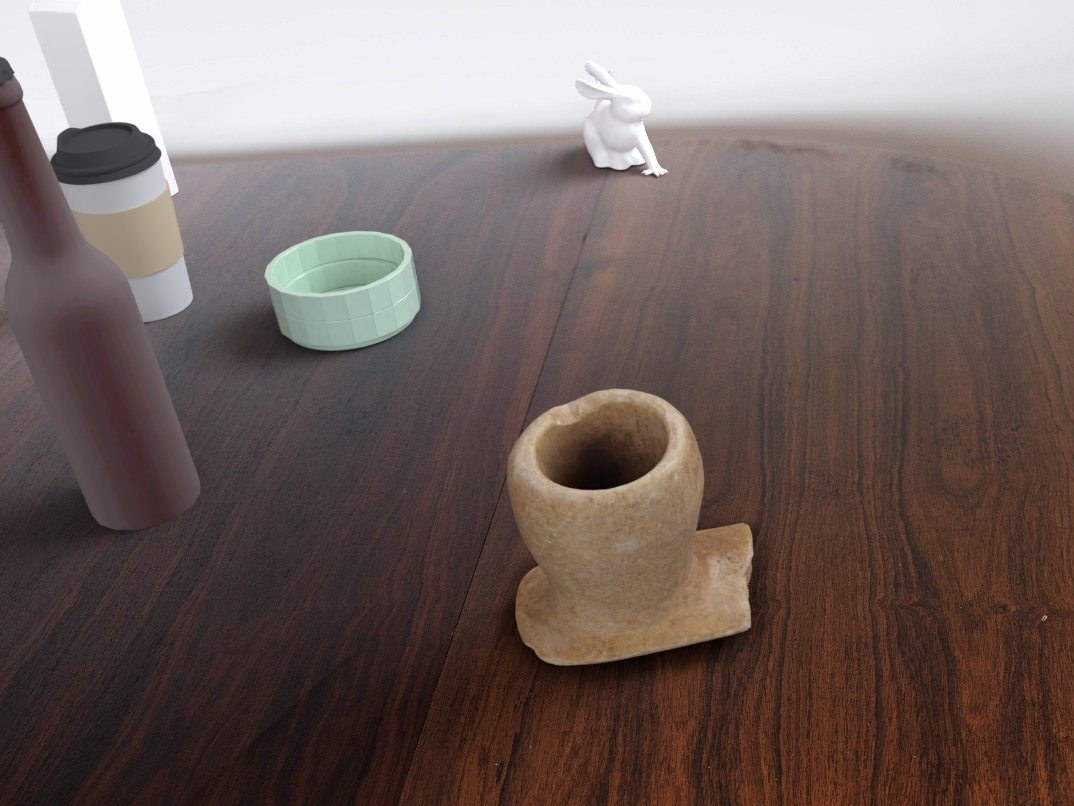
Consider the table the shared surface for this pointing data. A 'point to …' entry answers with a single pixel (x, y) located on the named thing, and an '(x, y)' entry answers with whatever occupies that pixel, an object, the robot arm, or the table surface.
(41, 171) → the beer bottle
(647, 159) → the rabbit figurine
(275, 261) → the bowl
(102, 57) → the milk
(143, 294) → the coffee cup
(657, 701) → the table surface
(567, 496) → the stone cup
